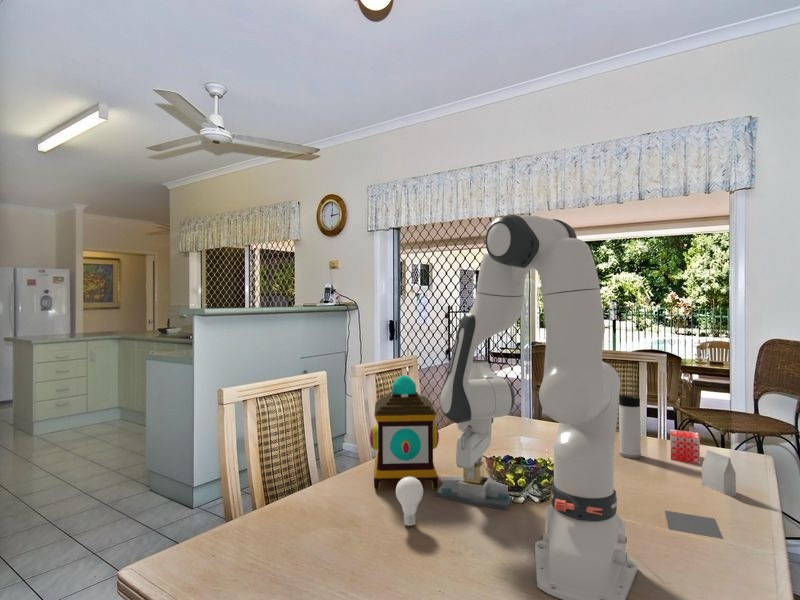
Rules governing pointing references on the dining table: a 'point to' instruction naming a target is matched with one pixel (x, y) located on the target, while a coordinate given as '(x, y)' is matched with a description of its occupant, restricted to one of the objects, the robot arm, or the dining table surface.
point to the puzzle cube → (685, 446)
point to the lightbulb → (409, 497)
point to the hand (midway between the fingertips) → (474, 474)
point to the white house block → (719, 473)
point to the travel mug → (629, 427)
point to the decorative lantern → (404, 435)
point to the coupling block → (478, 474)
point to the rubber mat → (693, 524)
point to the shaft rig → (476, 492)
